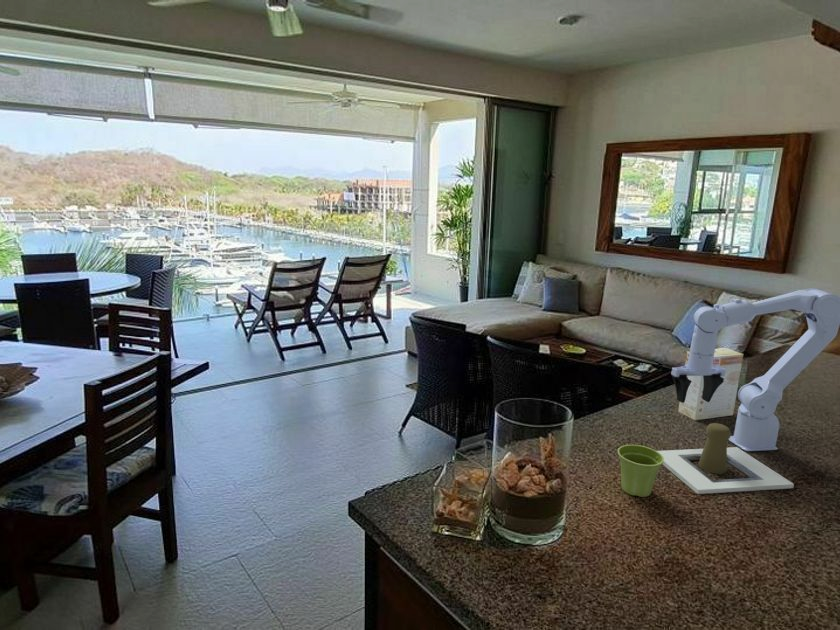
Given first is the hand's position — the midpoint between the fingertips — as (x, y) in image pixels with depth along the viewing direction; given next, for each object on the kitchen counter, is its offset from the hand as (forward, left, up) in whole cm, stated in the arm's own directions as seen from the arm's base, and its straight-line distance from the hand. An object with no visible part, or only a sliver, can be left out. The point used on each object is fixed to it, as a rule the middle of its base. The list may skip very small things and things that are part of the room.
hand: (693, 400), depth 144 cm
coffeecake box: (-16, -14, -11) cm, 24 cm away
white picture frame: (+4, +18, -10) cm, 21 cm away
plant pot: (+29, +24, -11) cm, 39 cm away
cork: (+5, +16, -11) cm, 20 cm away
